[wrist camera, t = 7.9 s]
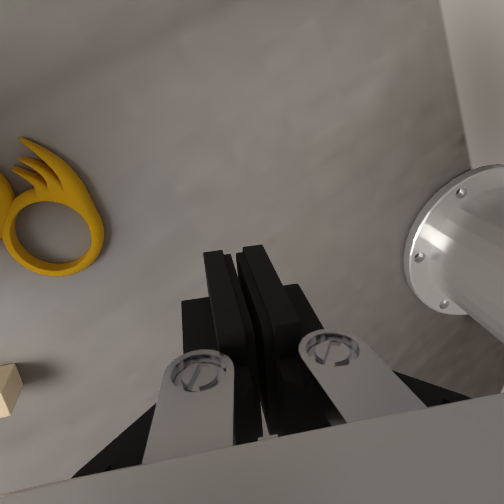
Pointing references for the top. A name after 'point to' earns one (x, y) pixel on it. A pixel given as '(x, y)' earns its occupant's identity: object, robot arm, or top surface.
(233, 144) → the top surface
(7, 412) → the cream blocks and ball
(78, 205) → the novelty glasses
